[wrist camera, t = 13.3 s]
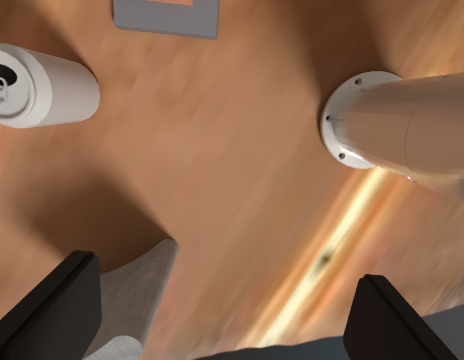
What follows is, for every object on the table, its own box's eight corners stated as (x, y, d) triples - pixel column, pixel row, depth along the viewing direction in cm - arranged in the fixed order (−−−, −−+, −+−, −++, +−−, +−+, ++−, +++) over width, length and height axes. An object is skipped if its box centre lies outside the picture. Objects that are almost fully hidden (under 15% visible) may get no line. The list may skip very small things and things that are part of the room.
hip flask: (171, 235, 40) (117, 356, 21) (185, 255, 41) (146, 388, 22) (89, 279, 42) (-27, 425, 23) (105, 297, 43) (5, 451, 24)
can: (103, 65, 33) (36, 45, 22) (103, 124, 35) (42, 135, 24) (43, 56, 33) (-58, 32, 21) (47, 117, 35) (-43, 124, 23)
